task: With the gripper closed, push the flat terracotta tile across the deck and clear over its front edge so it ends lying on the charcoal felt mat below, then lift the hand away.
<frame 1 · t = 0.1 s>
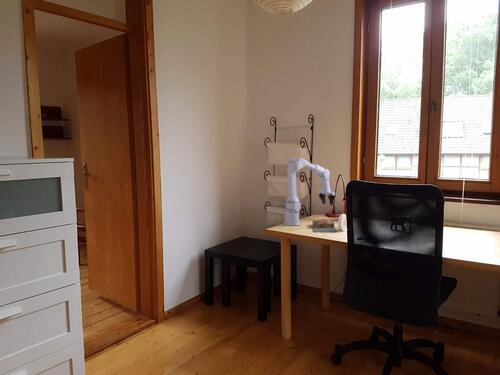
hand: (327, 204, 275), 10 cm above the table, tool pointing down, fingers open, 7 cm apart
mat: (324, 230, 239), on the table
deck: (323, 226, 250), on the table
fire alarm: (358, 221, 266), on the table
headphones: (348, 229, 241), on the table
tile: (323, 221, 250), point 3 cm above the table, touching deck
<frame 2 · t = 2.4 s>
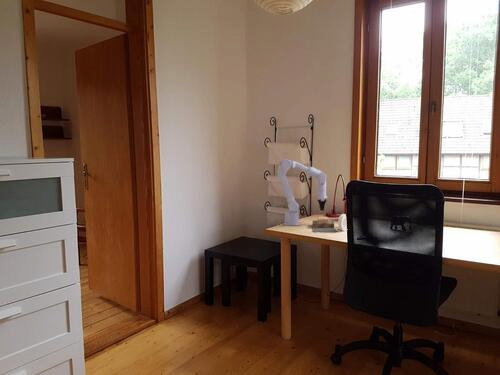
hand: (322, 210, 259), 9 cm above the table, tool pointing down, fingers closed
nothing on the table moved.
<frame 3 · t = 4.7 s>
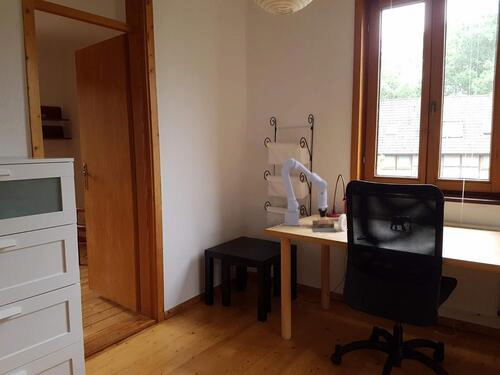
hand: (322, 219, 254), 4 cm above the table, tool pointing down, fingers closed
tile: (323, 222, 249), point 3 cm above the table, touching gripper
everything else where it was.
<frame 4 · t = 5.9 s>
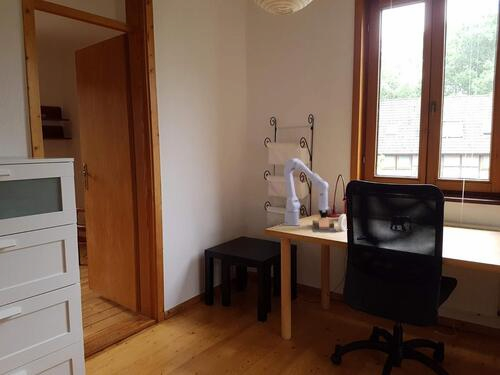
hand: (323, 221, 247), 4 cm above the table, tool pointing down, fingers closed
tile: (323, 225, 242), point 2 cm above the table, tilted 26°
everything else where it was.
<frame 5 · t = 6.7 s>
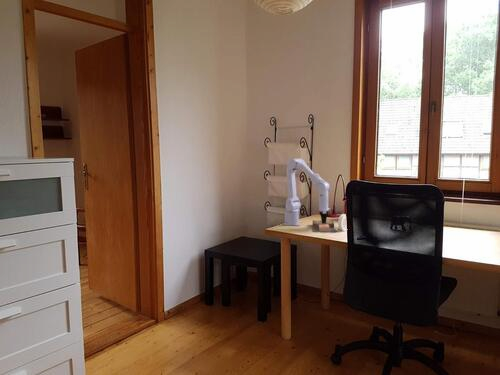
hand: (323, 223, 243), 4 cm above the table, tool pointing down, fingers closed
tile: (323, 229, 239), resting on mat
everything else where it was.
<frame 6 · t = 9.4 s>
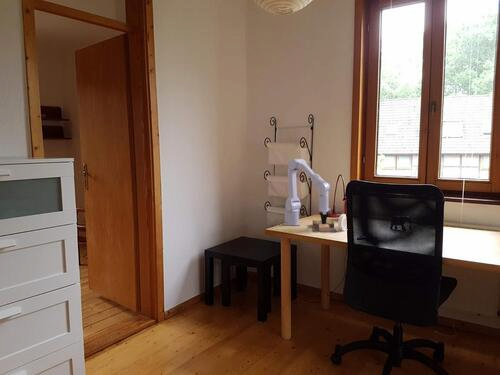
hand: (323, 223, 241), 4 cm above the table, tool pointing down, fingers closed
nothing on the table moved.
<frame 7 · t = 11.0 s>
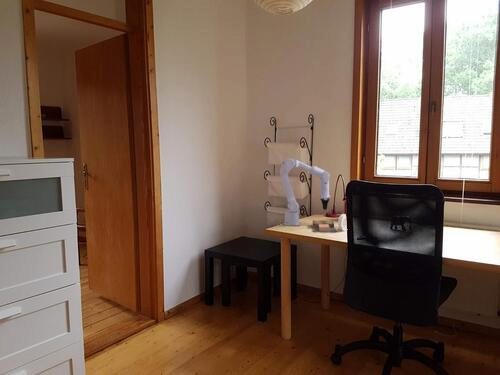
hand: (324, 209, 260), 9 cm above the table, tool pointing down, fingers closed
nothing on the table moved.
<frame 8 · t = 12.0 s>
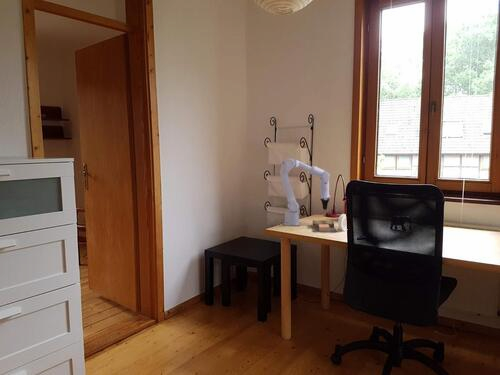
hand: (324, 209, 260), 9 cm above the table, tool pointing down, fingers closed
nothing on the table moved.
at the end: tile resting on mat; tile inside the target area on the mat (0.6 cm from its centre), point 0.3 cm above the mat's base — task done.
